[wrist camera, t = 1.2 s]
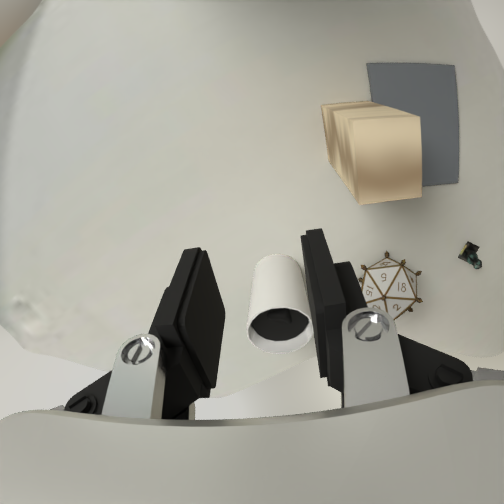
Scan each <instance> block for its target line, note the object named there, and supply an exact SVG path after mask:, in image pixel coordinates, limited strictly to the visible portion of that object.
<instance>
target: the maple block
mask: <svg viewBox="0 0 504 504" xmlns="http://www.w3.org/2000/svg"><path fill="white" fill-rule="evenodd" d="M321 109H322V116H323V122H324V129H325V137H326V144H327V152H328V160H329V162H330V164H331V165H332V166H333V168H334V169H335V171H336V172H337V173H338V175H339V176H340V178H341V179H342V180H343V182H344V183H345V185H346V186H347V187H348V189H349V190H350V192H351V193H352V195H353V196H354V198H355V199H356V201H357V202H358V203H359V205H364V204H371V203H379V202H386V201H394V200H402V199H410V198H418V197H422V146H421V124H420V117H419V116H416V115H413V114H410V113H407V112H404V111H401V110H398V109H394V108H391V107H388V106H384V105H381V104H377V103H374V102H370V101H359V102H347V103H336V104H327V105H321Z"/></svg>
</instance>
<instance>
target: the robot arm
mask: <svg viewBox="0 0 504 504" xmlns="http://www.w3.org/2000/svg"><path fill="white" fill-rule="evenodd" d="M301 243H302V251H303V259H304V266H305V275H306V283H307V292H308V300H309V307H310V313H311V319H312V325H313V331H314V338H315V344H316V351H317V358H318V365H319V372H320V378H322V377H327V381H328V386H331V387H333V388H334V389H336V390H338V391H340V392H341V408H340V409H333V410H327V411H319V412H312V413H304V414H295V415H286V416H274V417H262V418H247V419H225V420H195V404H194V401H196V400H197V399H199V398H209V397H210V390H211V388H215V387H216V381H217V373H218V366H219V359H220V351H221V344H222V337H223V330H224V323H225V308H224V305H223V302H222V299H221V295H220V292H219V289H218V286H217V283H216V280H215V276H214V273H213V270H212V267H211V263H210V260H209V257H208V254H207V251H206V250H204V251H202V250H201V248H200V247H198V248H192V249H185V250H184V251H183V253H182V256H181V258H180V261H179V263H178V266H177V268H176V271H175V273H174V276H173V278H172V281H171V283H170V286H169V287H167V288H166V289H165V291H164V294H163V296H162V299H161V301H160V304H159V307H158V309H157V312H156V314H155V317H154V320H153V322H152V325H151V327H150V330H149V333H148V334H140V335H136V336H134V337H132V338H130V339H128V340H127V341H126V342H124V343H123V344H122V346H121V347H120V348H119V350H118V352H117V355H116V359H115V363H114V366H113V370H112V371H110V372H109V373H107V374H106V375H104V376H102V377H101V378H100V379H98V380H97V381H95V382H94V383H92V384H91V385H89V386H88V387H86V388H84V389H83V390H81V391H80V392H78V393H77V394H75V395H74V396H73V397H72V398H70V400H69V401H68V402H67V404H66V406H65V407H64V406H63V405H61V406H58V407H56V408H53V409H50V410H30V411H22V412H18V413H14V414H12V415H9V416H7V417H5V418H3V419H2V420H0V504H504V371H501V370H493V369H486V368H477V371H472V370H470V368H469V367H468V366H467V365H466V364H465V363H464V362H463V361H461V360H459V359H457V358H455V357H452V356H450V355H448V354H445V353H443V352H440V351H438V350H435V349H433V348H430V347H428V346H426V345H423V344H421V343H418V342H416V341H414V340H411V339H409V338H406V337H404V336H401V335H399V334H397V329H396V325H395V322H394V320H393V318H392V317H391V316H390V315H389V314H388V313H387V312H385V311H383V310H381V309H377V308H368V306H367V303H366V300H365V298H364V295H363V293H362V290H361V287H360V285H359V282H358V280H357V277H356V275H355V272H354V270H353V267H352V265H351V263H350V262H349V261H348V262H342V263H335V264H334V263H333V260H332V257H331V254H330V251H329V248H328V245H327V242H326V240H325V237H324V234H323V231H322V228H321V229H314V230H307V231H306V235H302V236H301Z"/></svg>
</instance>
